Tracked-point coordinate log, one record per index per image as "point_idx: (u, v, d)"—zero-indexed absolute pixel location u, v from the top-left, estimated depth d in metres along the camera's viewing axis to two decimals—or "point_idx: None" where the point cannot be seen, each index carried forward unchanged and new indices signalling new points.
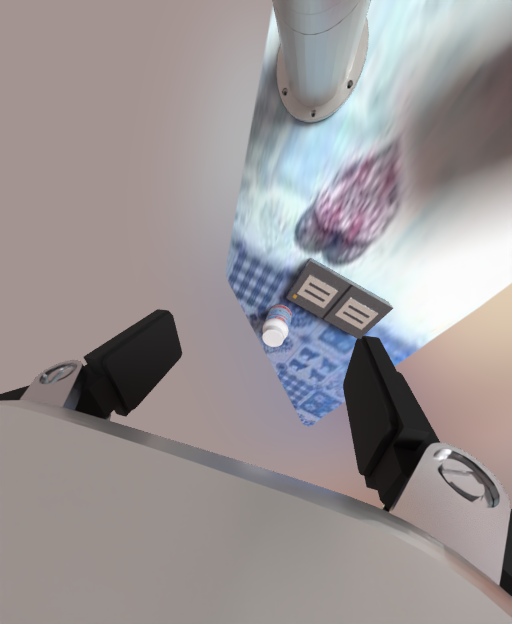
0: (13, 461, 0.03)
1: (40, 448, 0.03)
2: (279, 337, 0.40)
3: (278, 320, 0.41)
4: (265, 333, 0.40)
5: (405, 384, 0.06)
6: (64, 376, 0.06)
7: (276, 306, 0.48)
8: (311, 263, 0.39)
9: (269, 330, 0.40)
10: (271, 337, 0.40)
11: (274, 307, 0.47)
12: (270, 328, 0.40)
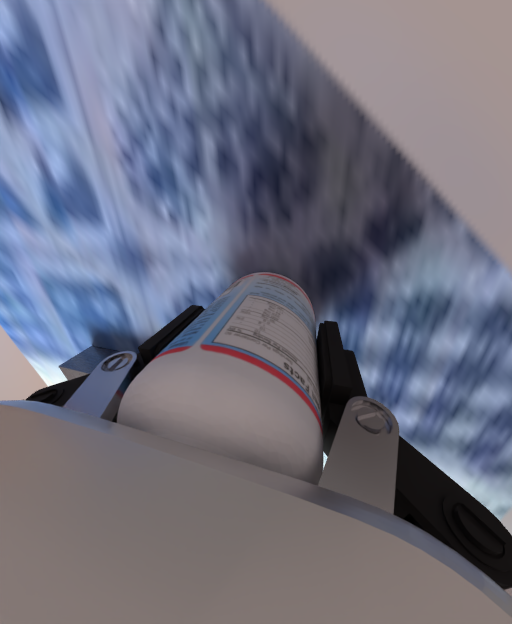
0: (13, 461, 0.03)
1: (40, 448, 0.03)
2: None
3: None
4: None
5: (354, 359, 0.07)
6: (123, 365, 0.07)
7: None
8: None
9: None
10: None
11: None
12: None
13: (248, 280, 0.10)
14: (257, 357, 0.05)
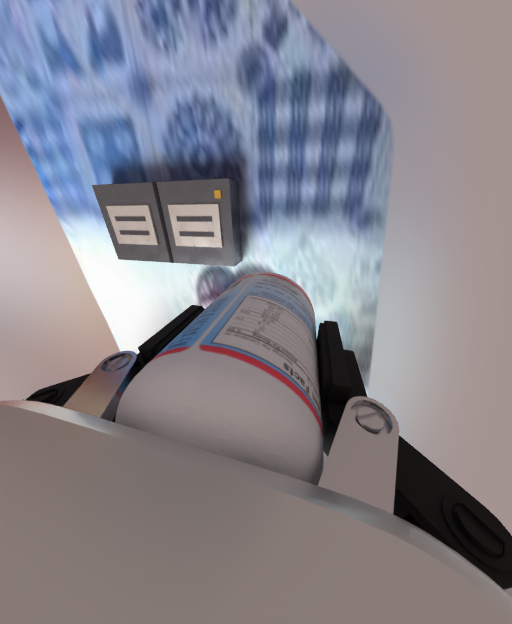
0: (13, 461, 0.03)
1: (40, 448, 0.03)
2: None
3: None
4: None
5: (353, 359, 0.07)
6: (123, 365, 0.07)
7: None
8: (231, 263, 0.26)
9: None
10: None
11: None
12: None
13: (248, 280, 0.09)
14: (256, 358, 0.05)
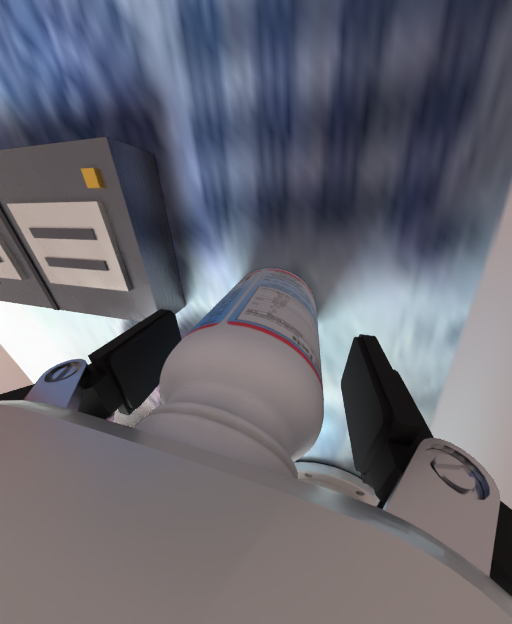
0: (13, 461, 0.03)
1: (40, 448, 0.03)
2: None
3: None
4: None
5: (401, 382, 0.06)
6: (69, 375, 0.06)
7: None
8: None
9: None
10: None
11: None
12: None
13: (257, 274, 0.11)
14: (271, 330, 0.06)
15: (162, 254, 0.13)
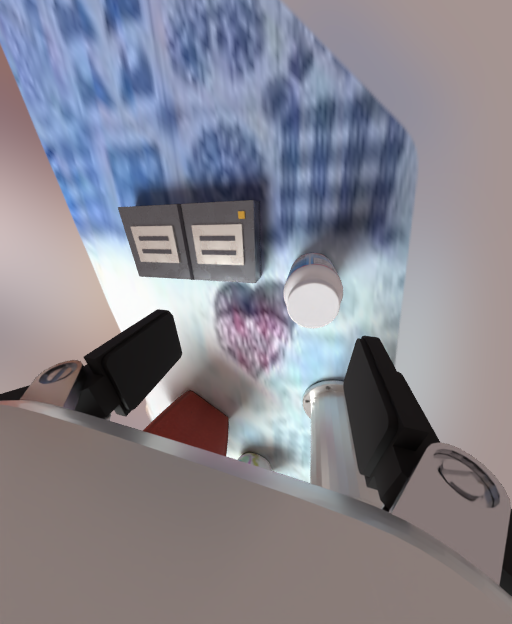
0: (13, 461, 0.03)
1: (40, 448, 0.03)
2: (299, 318, 0.18)
3: None
4: (334, 311, 0.17)
5: (405, 384, 0.06)
6: (64, 376, 0.06)
7: None
8: (252, 280, 0.26)
9: (329, 322, 0.17)
10: (316, 308, 0.17)
11: None
12: None
13: (308, 255, 0.24)
14: (326, 266, 0.19)
15: (258, 247, 0.26)
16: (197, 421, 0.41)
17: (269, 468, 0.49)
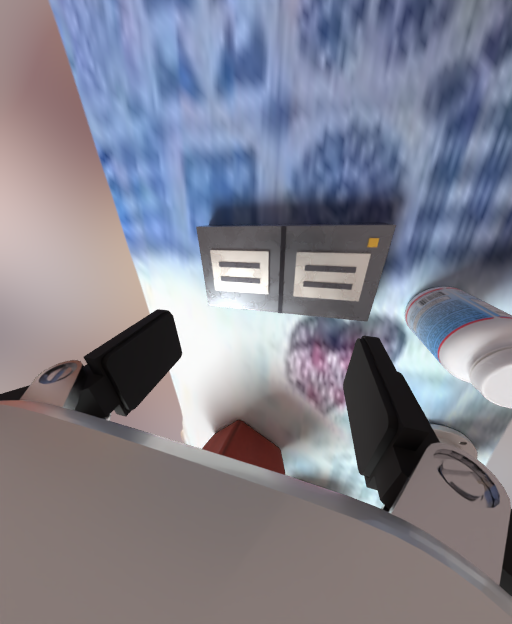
0: (13, 461, 0.03)
1: (40, 448, 0.03)
2: (499, 395, 0.13)
3: None
4: None
5: (405, 384, 0.06)
6: (64, 376, 0.06)
7: None
8: (363, 318, 0.21)
9: None
10: None
11: None
12: None
13: (448, 291, 0.19)
14: None
15: None
16: (254, 459, 0.37)
17: None
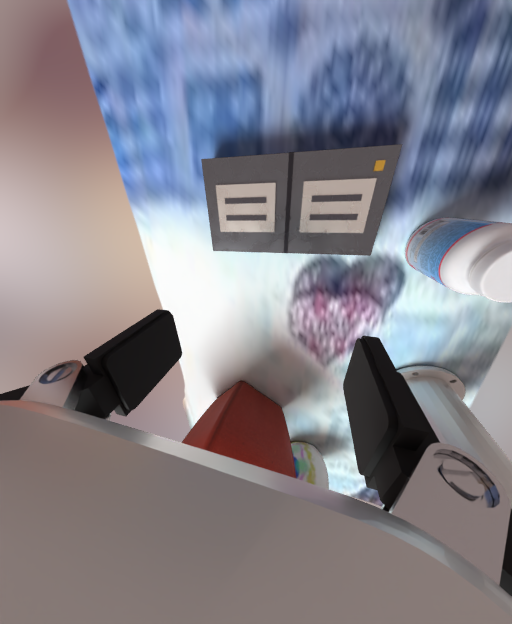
0: (13, 461, 0.03)
1: (40, 448, 0.03)
2: (496, 289, 0.14)
3: None
4: None
5: (405, 384, 0.06)
6: (64, 376, 0.06)
7: None
8: (367, 252, 0.22)
9: None
10: None
11: None
12: None
13: (447, 219, 0.20)
14: None
15: None
16: (258, 413, 0.38)
17: (321, 456, 0.48)
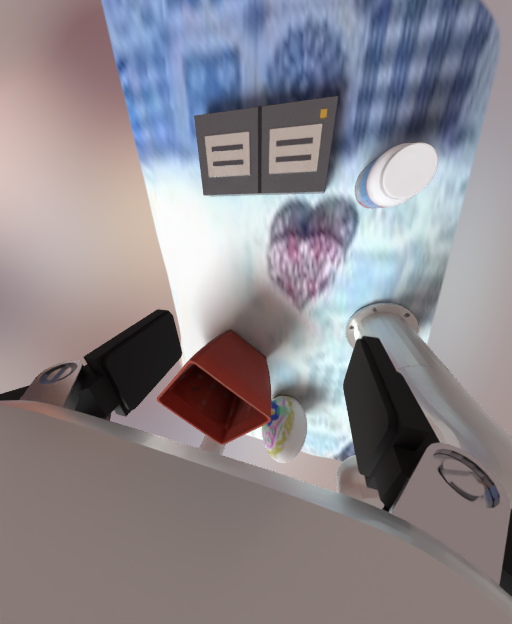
0: (13, 461, 0.03)
1: (40, 448, 0.03)
2: (393, 187, 0.20)
3: (395, 205, 0.23)
4: (431, 174, 0.19)
5: (405, 384, 0.06)
6: (64, 376, 0.06)
7: None
8: (321, 188, 0.28)
9: (422, 187, 0.19)
10: (413, 173, 0.19)
11: None
12: None
13: None
14: None
15: None
16: (242, 353, 0.43)
17: None
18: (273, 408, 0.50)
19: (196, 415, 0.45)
